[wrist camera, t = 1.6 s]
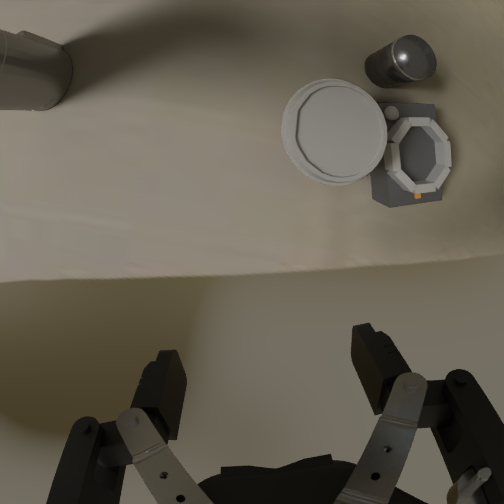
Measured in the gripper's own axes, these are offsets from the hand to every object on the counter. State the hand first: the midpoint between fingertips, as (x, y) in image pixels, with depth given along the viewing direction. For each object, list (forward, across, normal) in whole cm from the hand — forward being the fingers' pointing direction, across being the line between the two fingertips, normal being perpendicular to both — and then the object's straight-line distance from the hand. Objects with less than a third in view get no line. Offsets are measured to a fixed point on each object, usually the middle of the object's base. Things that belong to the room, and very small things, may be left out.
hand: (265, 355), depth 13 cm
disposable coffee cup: (+26, -8, -9) cm, 28 cm away
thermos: (+25, -19, -17) cm, 36 cm away
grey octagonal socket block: (+25, -20, -6) cm, 33 cm away
